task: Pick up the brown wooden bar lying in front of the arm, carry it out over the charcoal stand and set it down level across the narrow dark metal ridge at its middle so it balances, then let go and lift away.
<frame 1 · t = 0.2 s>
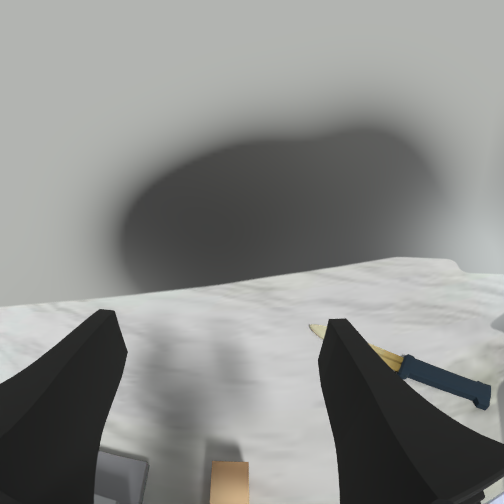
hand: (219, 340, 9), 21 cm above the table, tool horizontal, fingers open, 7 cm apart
knife: (399, 370, 34), on the table
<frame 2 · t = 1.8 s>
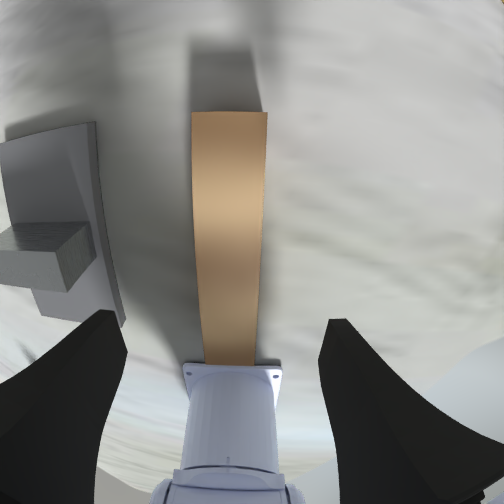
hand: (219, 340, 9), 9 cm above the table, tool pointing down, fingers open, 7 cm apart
bar: (232, 232, 17), on the table
stand: (59, 232, 17), on the table
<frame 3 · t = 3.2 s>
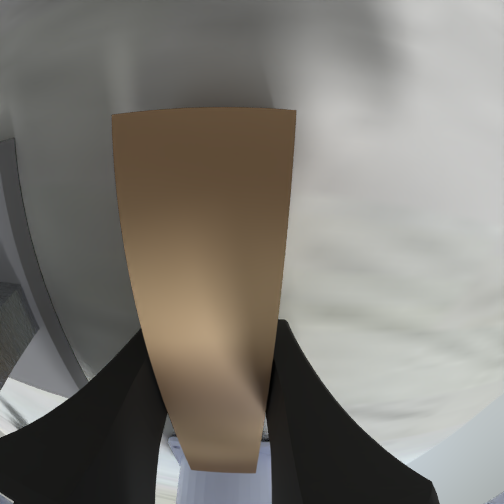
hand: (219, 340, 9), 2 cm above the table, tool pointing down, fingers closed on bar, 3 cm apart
bar: (222, 309, 11), on the table, touching gripper
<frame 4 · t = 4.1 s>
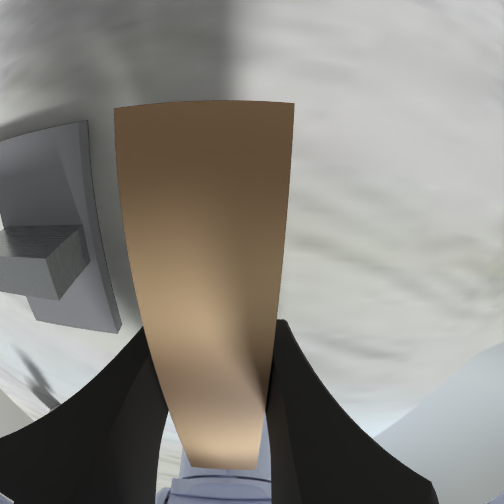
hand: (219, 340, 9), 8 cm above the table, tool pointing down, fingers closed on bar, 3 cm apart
bar: (222, 304, 11), point 6 cm above the table, touching gripper
stand: (52, 236, 16), on the table
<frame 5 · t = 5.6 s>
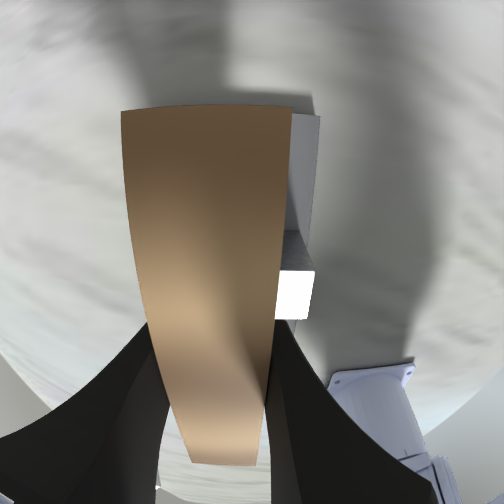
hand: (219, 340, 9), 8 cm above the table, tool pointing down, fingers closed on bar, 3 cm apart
bar: (223, 301, 11), point 6 cm above the table, touching gripper
stand: (231, 241, 16), on the table
when the fingers open (7 cm above the table, at t = 6.3 s): bar stays where it is, resting on stand.
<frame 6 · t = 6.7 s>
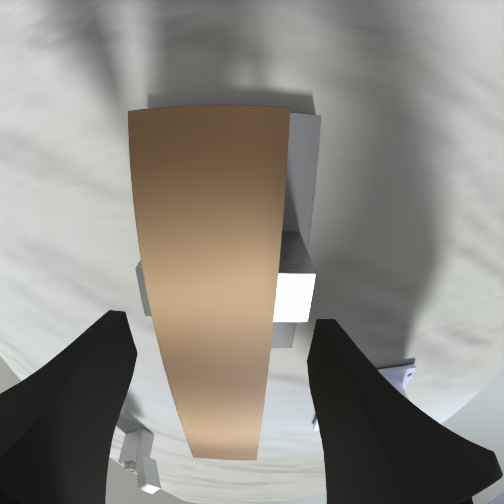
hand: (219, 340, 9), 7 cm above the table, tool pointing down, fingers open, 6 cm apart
bar: (224, 296, 11), point 5 cm above the table, touching stand
stand: (230, 242, 16), on the table
lighter: (146, 430, 27), on the table
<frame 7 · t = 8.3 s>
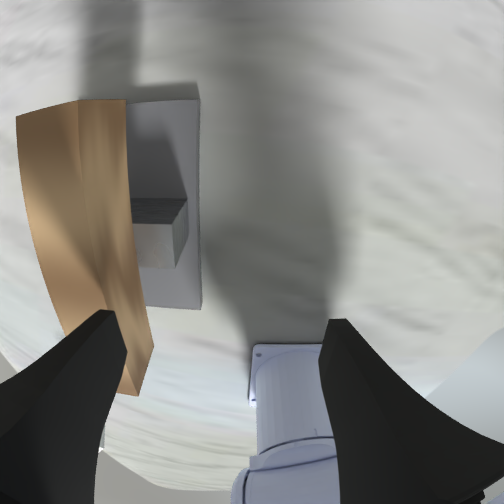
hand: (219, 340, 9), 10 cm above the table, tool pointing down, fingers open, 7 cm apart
bar: (108, 244, 14), point 5 cm above the table, touching stand
stand: (139, 211, 18), on the table
lighter: (101, 398, 29), on the table
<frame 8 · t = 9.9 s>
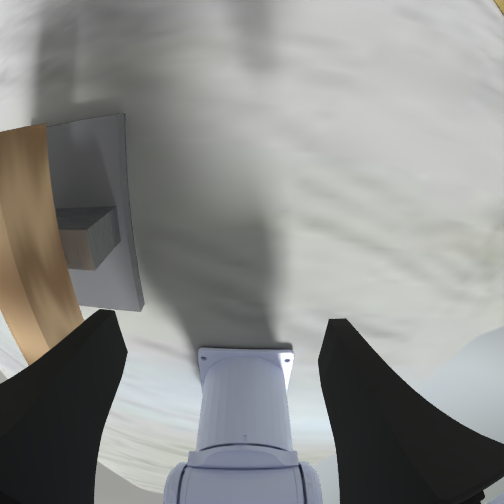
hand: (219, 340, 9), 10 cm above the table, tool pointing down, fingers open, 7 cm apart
bar: (44, 248, 14), point 5 cm above the table, touching stand
stand: (82, 219, 18), on the table
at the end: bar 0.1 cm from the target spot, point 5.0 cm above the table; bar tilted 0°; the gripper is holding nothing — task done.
